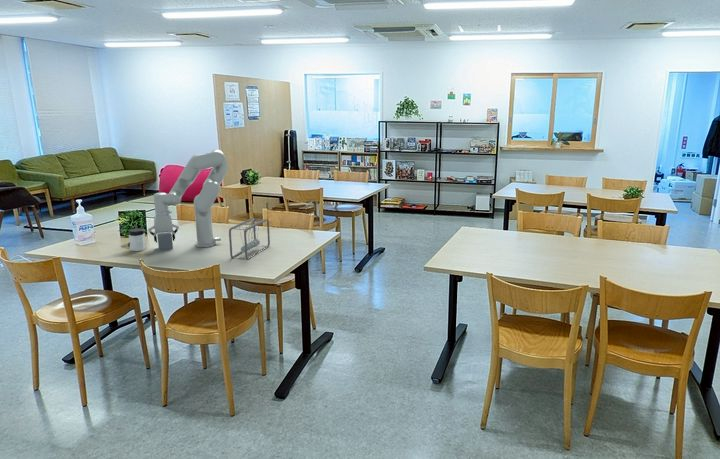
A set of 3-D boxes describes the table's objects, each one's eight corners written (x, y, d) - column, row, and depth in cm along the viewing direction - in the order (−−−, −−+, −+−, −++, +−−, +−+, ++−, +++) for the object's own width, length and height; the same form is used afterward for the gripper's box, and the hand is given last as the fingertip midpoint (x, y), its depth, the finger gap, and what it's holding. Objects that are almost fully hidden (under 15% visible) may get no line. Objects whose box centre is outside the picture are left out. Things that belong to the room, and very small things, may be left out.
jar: (131, 252, 293) (129, 232, 290) (129, 248, 299) (126, 229, 296) (147, 249, 297) (145, 230, 294) (145, 246, 304) (143, 227, 301)
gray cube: (172, 245, 306) (170, 232, 303) (173, 249, 299) (171, 235, 297) (158, 247, 302) (157, 233, 300) (159, 250, 296) (157, 236, 293)
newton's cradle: (247, 260, 277) (245, 229, 273) (230, 259, 280) (228, 228, 276) (270, 246, 306) (269, 218, 301) (254, 244, 308) (253, 216, 304)
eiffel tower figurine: (135, 241, 316) (132, 221, 313) (147, 243, 313) (145, 222, 310) (116, 248, 303) (113, 226, 300) (129, 249, 299) (126, 228, 296)
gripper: (177, 211, 302) (179, 238, 306) (146, 213, 295) (149, 241, 300) (178, 213, 296) (180, 241, 300) (146, 216, 289) (149, 244, 293)
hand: (164, 241), depth 300 cm, fingers open, 9 cm apart
